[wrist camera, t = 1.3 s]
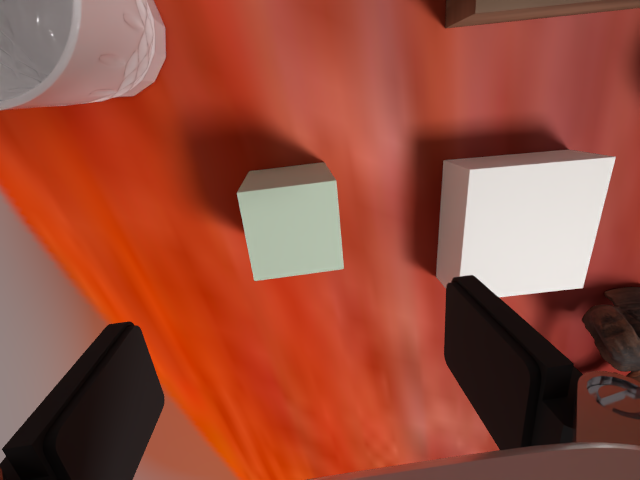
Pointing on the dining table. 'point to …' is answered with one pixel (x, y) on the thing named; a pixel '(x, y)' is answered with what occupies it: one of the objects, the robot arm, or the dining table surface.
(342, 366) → the dining table surface
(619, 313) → the pottery mug
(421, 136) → the dining table surface
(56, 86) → the white cup
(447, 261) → the base slab
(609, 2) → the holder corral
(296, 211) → the green block
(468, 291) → the robot arm
